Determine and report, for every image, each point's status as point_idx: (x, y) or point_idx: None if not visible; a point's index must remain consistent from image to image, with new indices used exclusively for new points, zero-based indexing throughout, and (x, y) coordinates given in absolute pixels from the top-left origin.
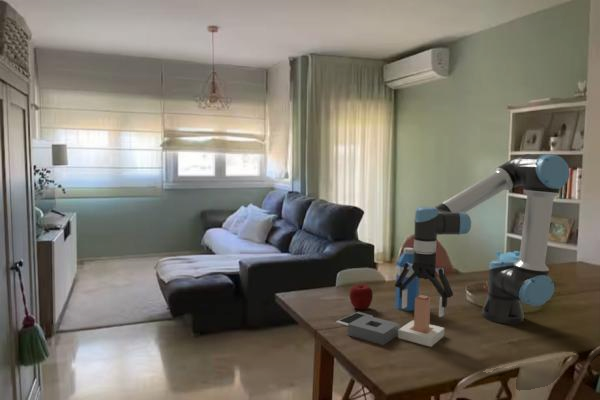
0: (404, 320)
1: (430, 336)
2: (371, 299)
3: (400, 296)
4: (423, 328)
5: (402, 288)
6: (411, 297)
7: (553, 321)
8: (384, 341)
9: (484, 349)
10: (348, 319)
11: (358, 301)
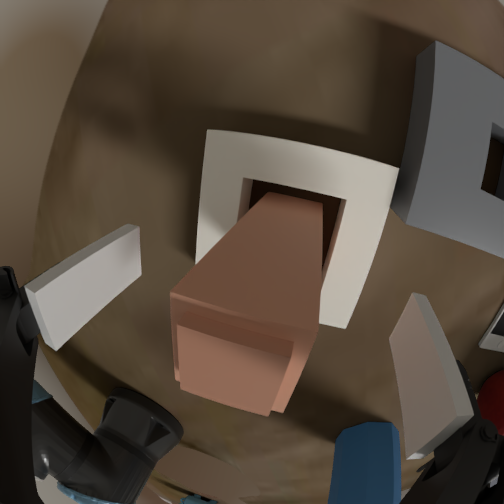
0: (378, 362)
1: (216, 149)
2: (481, 411)
3: (461, 369)
4: (263, 205)
5: (475, 434)
6: (354, 460)
7: (90, 397)
8: (420, 61)
9: (87, 215)
10: None
11: None
